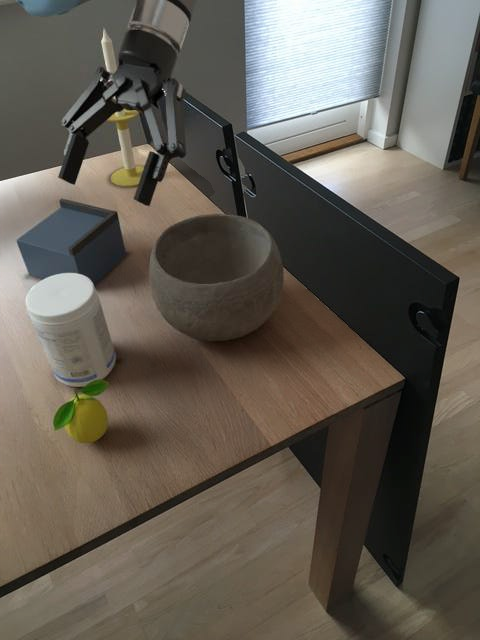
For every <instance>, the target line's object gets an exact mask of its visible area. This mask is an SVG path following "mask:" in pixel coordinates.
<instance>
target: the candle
mask: <svg viewBox="0 0 480 640" xmlns="http://www.w3.org/2000/svg"><path fill="white" fill-rule="evenodd" d="M100 43H101V47H102V48H101V49H102V54H103V58H104V62H105V64H104V65H105V70H107V71H108V72H111V73H115V72H116V70H117V69H118V66H117V61H116V55H115V51H114V45H113V40H112V38H110V36H109V35H108V33H107V30H106V29H105V28H103V32H102V39H101V41H100ZM113 98H114V99H115V100H116V98H115V96H114V97H113ZM139 114H140V113H139V112H138V111H136V110H133V111H129V110H126V109H125V108H124V109H123V110H122V111H121V112H116V113H115V114H113V115H112V116H111V117H110V118H109V119H107V120H106V121H105V122H113V123H115V124H116V130H117V135H118V140H119V146H120V149H121V154H122V160H123V166H124V167H121V168H119V169H117V170H115V172H113V173H112V174H111V176H110V180H111V182H112V184H113V185H116V186H118V187H125V188H129V187H130V188H131V187H138V184H139V181H140V178H141V175H142V172H143V169H144V166H141V165H136V162H135V155H134V151H133V146H132V145H133V144H132V140H131V135H130V129H129V122H128V121H129V120H133V119H135V118H136V117H137V116H139Z"/></svg>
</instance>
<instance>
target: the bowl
mask: <svg viewBox="0 0 480 640" xmlns="http://www.w3.org/2000/svg"><path fill="white" fill-rule="evenodd" d="M148 273H149V288H150V293H151V297H152V300H153V302H154V304H155V307H156V309H157V311H158V312H159V313H160V315H161V317H162V318H163V319H164V320H165V321H166V322H167V323H168V324H169V325H170V326H171V327H173V328H174V329H175V330H177V331H178V332H179V333H181V334H183V335H185V336H188V337H189V338H192V339H195V340H198V341H203V342H225V341H233V340H235V339H239V338H242V337H245V336H246V335H249V334H250V333H252V332H254V331H256V330H257V329H259V328H260V327H261V326H262V325H263V324H264V323H265V322H267V320H268V319H269V318H270V317H271V315H272V314H273V313H275V310H276V309H277V307H278V305H279V303H280V300H281V297H282V294H283V289H284V282H285V281H284V279H285V278H284V276H285V275H284V273H285V270H284V264H283V260H282V255H281V252H280V250H279V247H278V245H277V242H276V241H275V239H274V237H273V236H272V235H271V233H270V232H269V231H268V230H267V229H266V228H265V227H264V226H262V225H261V224H260V223H259V222H257V221H255V220H252V219H251V218H249V217H245V216H243V215H235V214H228V213H227V214H226V213H209V214H199V215H196V216H192V217H189V218H185V219H183V220H181V221H178V222H177V223H174V224H172V225H170V226H169V227H167V228H166V229H165V230H163V232H161V234H160V235H159V236H158V237H157V239H156V240H155V242H154V245H153V247H152V249H151V253H150V258H149V272H148Z"/></svg>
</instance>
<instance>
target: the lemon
mask: <svg viewBox="0 0 480 640" xmlns="http://www.w3.org/2000/svg"><path fill="white" fill-rule="evenodd" d="M109 384H110V383H109V382H108V381H107V380H104V379H102V380H95V381H93V382H90V383H89V384H87V385H86V386H83V387H82V388H81V389H80V390H77V389H76V387H73V388H72V391H73V393H74V394H75V396H74V397H72V398H70V400H68V402H66V403H64V404H62V405H61V406H60V407H59V408H58V409H57V411H56V412H55V415H54V416H53V422H52V423H53V428H54V432H55V431H58V430H61V429H63V428H64V429H65V431H66V433H67V434H68V436H69V437H70V438H71V439H72V440H74V441H75V442H77V443H80V444H90V443H94V442H95V441H98V440H99V439H100V438H102V437H103V436H104V435H105V433H106V432H107V429H108V425H109V418H108V413H107V410H106V408H105V406H104V405H103V403H102V402H101V401H100V400H99V399H98V398H96V396H100V395H101V394H103V393H104V392H105V391H106V389H107V387H109ZM78 393H82V394H78Z"/></svg>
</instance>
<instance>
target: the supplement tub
mask: <svg viewBox="0 0 480 640" xmlns="http://www.w3.org/2000/svg"><path fill="white" fill-rule="evenodd" d="M25 306H26V308H27V314H28V316H29V318H30V321H31V323H32V326H33V328H34V330H35V333H36V336H37V337H38V340H39V343H40V345H41V348H42V349H43V352H44V354H45V356H46V359H47V361H48V362H49V365H50V368H51V370H52V372H53V375H54V377H55V378H56V380H57V381H59V382H60V383H62V384H63V385H66V386H69V387H72V388H78V387H79V388H81V387H82V388H84V387H85V386H86V385H87V384H89V383H90V382H93V381H95V380H104V379H105V378H106V377H107V376H108V375H109V374H110V373H111V372H112V370H113V368H114V366H115V364H116V360H117V355H116V351H115V347H114V344H113V341H112V336H111V334H110V330H109V327H108V323H107V320H106V316H105V314H104V309H103V306H102V303H101V300H100V297H99V293H98V291H97V289H96V287H95V284H93V282H92V281H91V280H90V279H89V278H88V277H86V276H84V275H81V274H77V273H62V274H57V275H53V276H50V277H47V278H45V279H43V280H42V279H40V281H38V282H37V283H36V284H34V285H33V286H32V287H31V288H30V289H29V291H28V292H27V294H26V297H25Z"/></svg>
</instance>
